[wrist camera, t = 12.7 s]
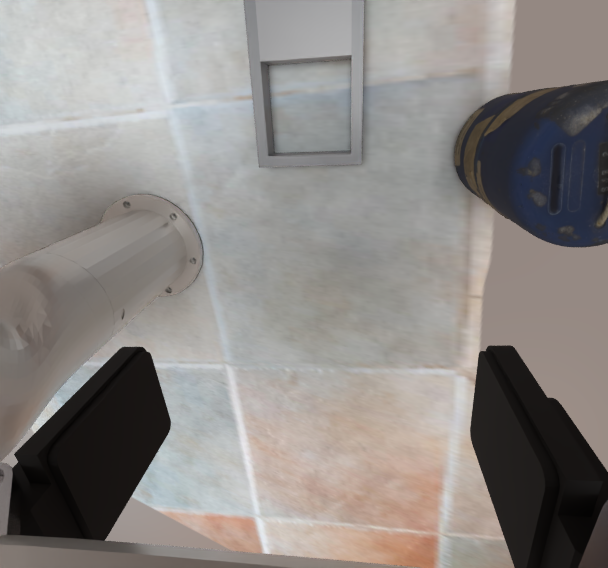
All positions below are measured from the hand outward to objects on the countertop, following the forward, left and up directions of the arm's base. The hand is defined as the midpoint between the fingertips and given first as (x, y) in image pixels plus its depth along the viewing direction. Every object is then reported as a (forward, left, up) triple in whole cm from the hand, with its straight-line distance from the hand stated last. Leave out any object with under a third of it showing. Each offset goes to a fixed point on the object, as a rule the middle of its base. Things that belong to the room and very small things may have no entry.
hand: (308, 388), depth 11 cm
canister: (+13, -8, -33) cm, 36 cm away
